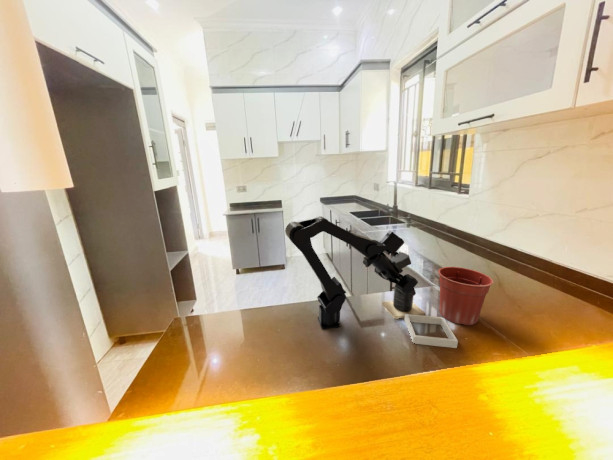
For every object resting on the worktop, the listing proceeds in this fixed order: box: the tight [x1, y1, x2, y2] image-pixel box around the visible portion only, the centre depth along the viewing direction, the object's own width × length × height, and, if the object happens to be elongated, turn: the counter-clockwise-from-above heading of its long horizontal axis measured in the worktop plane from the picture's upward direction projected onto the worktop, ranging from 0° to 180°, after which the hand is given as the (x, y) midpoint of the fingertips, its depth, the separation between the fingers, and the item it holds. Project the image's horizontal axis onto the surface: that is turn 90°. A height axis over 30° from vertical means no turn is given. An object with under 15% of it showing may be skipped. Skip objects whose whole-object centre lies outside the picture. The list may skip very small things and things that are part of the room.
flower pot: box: [437, 266, 494, 326], centre depth 90 cm, size 16×16×16 cm
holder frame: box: [403, 314, 459, 349], centre depth 82 cm, size 13×13×2 cm
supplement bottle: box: [392, 277, 414, 312], centre depth 94 cm, size 7×7×12 cm
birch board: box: [381, 300, 426, 320], centre depth 96 cm, size 12×10×1 cm
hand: (406, 288), depth 94 cm, fingers open, 9 cm apart
